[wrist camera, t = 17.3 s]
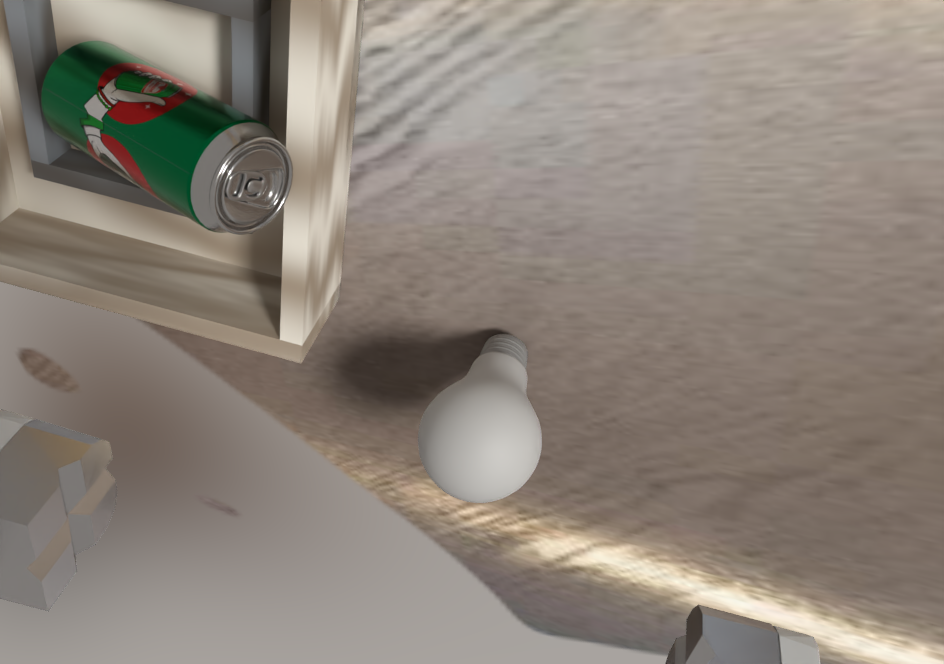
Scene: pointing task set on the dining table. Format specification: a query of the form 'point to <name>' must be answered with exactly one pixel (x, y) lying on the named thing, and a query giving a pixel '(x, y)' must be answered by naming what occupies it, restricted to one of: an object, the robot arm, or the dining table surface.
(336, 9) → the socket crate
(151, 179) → the soda can
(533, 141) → the dining table surface
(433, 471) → the lightbulb
